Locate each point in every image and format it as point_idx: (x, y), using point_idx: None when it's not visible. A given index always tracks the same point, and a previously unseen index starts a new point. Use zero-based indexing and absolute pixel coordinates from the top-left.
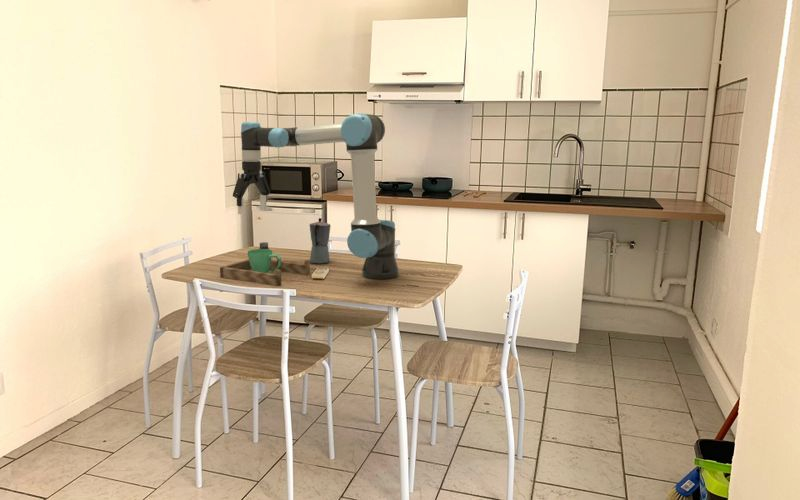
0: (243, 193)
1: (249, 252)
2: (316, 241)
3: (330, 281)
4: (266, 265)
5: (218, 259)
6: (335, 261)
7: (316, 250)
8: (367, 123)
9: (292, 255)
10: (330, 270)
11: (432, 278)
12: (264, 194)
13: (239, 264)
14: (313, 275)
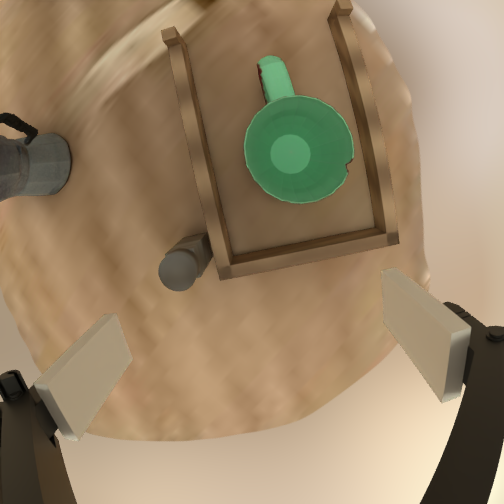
0: (486, 372)
1: (320, 196)
2: (29, 126)
3: None
4: (295, 114)
5: (237, 417)
6: None
7: (39, 152)
8: None
9: (54, 301)
10: (100, 53)
11: None
12: (40, 408)
13: (315, 246)
14: None
